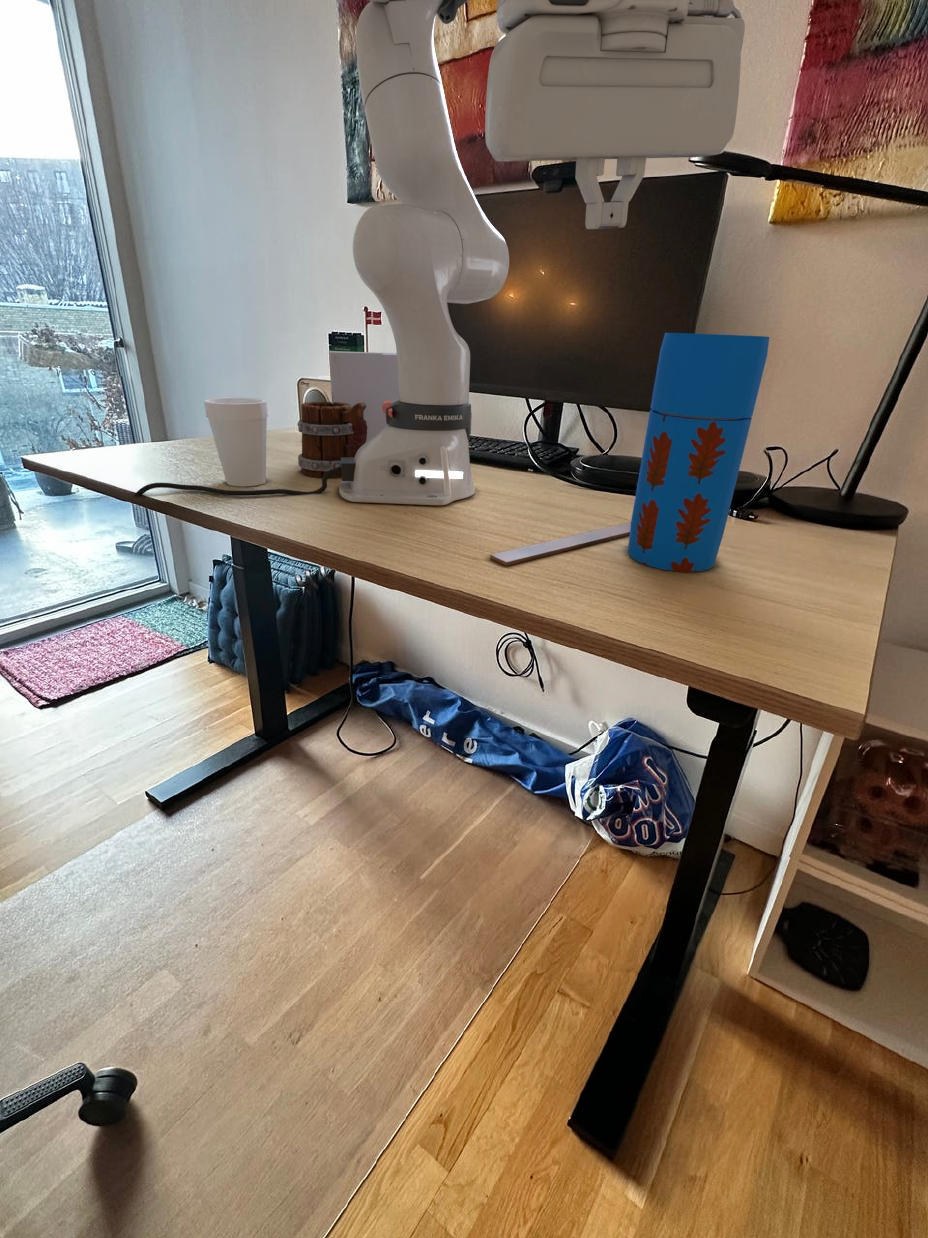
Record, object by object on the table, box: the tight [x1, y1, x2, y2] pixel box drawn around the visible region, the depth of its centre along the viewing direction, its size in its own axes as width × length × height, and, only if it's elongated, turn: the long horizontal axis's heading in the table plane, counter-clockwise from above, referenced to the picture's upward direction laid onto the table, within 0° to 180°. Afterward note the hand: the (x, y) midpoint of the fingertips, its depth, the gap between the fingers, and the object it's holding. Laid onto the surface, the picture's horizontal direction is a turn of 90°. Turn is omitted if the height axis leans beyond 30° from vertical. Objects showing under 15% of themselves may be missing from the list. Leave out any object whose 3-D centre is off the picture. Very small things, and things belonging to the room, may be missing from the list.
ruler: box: [489, 521, 631, 567], centre depth 77 cm, size 30×3×1 cm, turn 127°
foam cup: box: [203, 397, 269, 487], centre depth 96 cm, size 10×9×13 cm
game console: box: [328, 350, 399, 442], centre depth 118 cm, size 6×27×20 cm, turn 106°
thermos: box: [627, 332, 770, 573], centre depth 67 cm, size 11×11×25 cm
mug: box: [297, 401, 368, 479], centre depth 104 cm, size 12×14×15 cm
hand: (605, 228), depth 49 cm, fingers closed
